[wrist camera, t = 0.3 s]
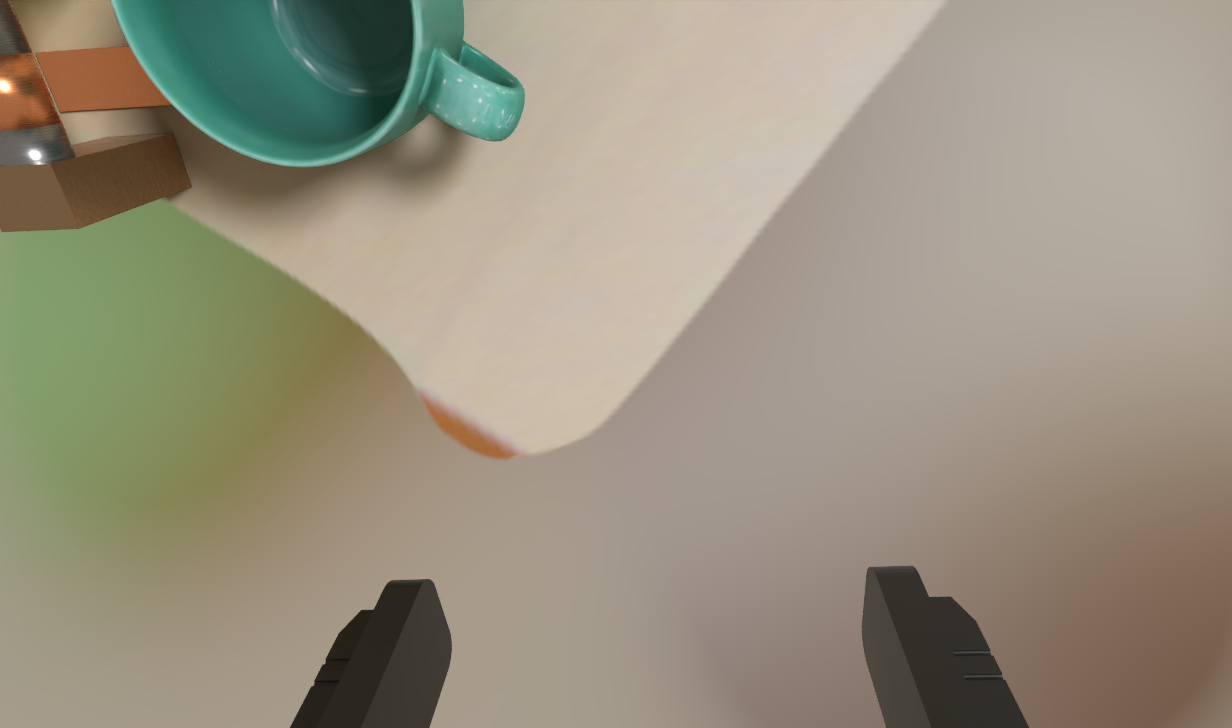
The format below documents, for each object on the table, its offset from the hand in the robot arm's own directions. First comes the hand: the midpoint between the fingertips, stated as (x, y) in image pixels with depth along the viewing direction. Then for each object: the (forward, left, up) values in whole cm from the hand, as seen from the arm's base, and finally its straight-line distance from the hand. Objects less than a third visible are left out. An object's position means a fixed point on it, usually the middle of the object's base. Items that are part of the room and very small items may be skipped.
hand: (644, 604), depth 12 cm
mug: (-10, -13, -29) cm, 34 cm away
